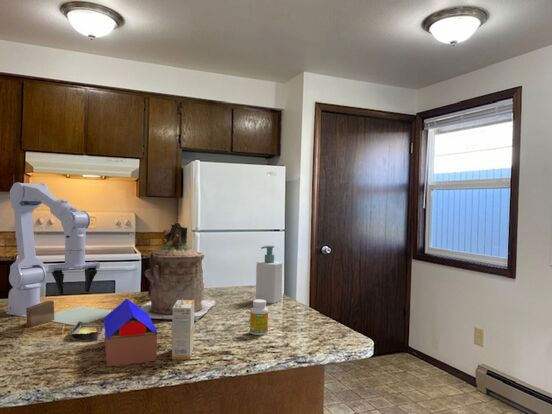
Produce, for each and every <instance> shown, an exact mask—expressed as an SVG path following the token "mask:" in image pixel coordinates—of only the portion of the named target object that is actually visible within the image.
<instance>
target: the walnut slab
mask: <svg viewBox="0 0 552 414" xmlns="http://www.w3.org/2000/svg"><path fill="white" fill-rule="evenodd" d="M54 313H55V303H54V300H46V301H43V302H40V304H37V305H33V306H30V307H27V308H26V327H28V328H34V327H38V326H41V325H44V324H46V323H50V322H51V321H52V320H55V319H54Z"/></svg>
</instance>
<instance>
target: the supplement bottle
mask: <svg viewBox="0 0 552 414" xmlns="http://www.w3.org/2000/svg"><path fill="white" fill-rule="evenodd" d="M252 306H253V307H251V308H250V318H249V319H250V321H249V324H250V325H249V333H250V334H252V335H253V336H254V335H255V336H264V335H267V334H268V332H269V331H268V329H269V308H267V307H266V306H267V303H266V300H261V299H257V300H256V299H253V300H252Z"/></svg>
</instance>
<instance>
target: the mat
mask: <svg viewBox="0 0 552 414" xmlns="http://www.w3.org/2000/svg"><path fill="white" fill-rule="evenodd" d="M112 311H113V310H109V309H108V310H107V309H102V308H96V307H90V306H84V305H79V306H76V307H72V308H68V309H64V310H59V311H57V312H54V319H55V320H52V321H50V322H51V323H57V324H63V325H70V326H76V325H77V323H78V322H79V321H81V322H83V323H84V322H87V323H89V324H90V323H91V322H92V323H93V322H95V321H98V320H100V319H101V320H102V319H104V317H106V316H107V315H108V314H109V313H110V312H112Z"/></svg>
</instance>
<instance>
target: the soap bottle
mask: <svg viewBox="0 0 552 414" xmlns="http://www.w3.org/2000/svg"><path fill="white" fill-rule="evenodd" d="M260 248H261V249H266V254H264V260H261V261H257V262H256V267H255V268H256V269H255V270H256V271H255V300H257V299H261V300H266V304H277V303H280V302H282V293H283V292H282V287H283V286H282V285H283V283H282V282H283V262H281V261H277V260H275V254H273V248H274V249H275V246H274V245H263V246H262V247H260Z"/></svg>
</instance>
